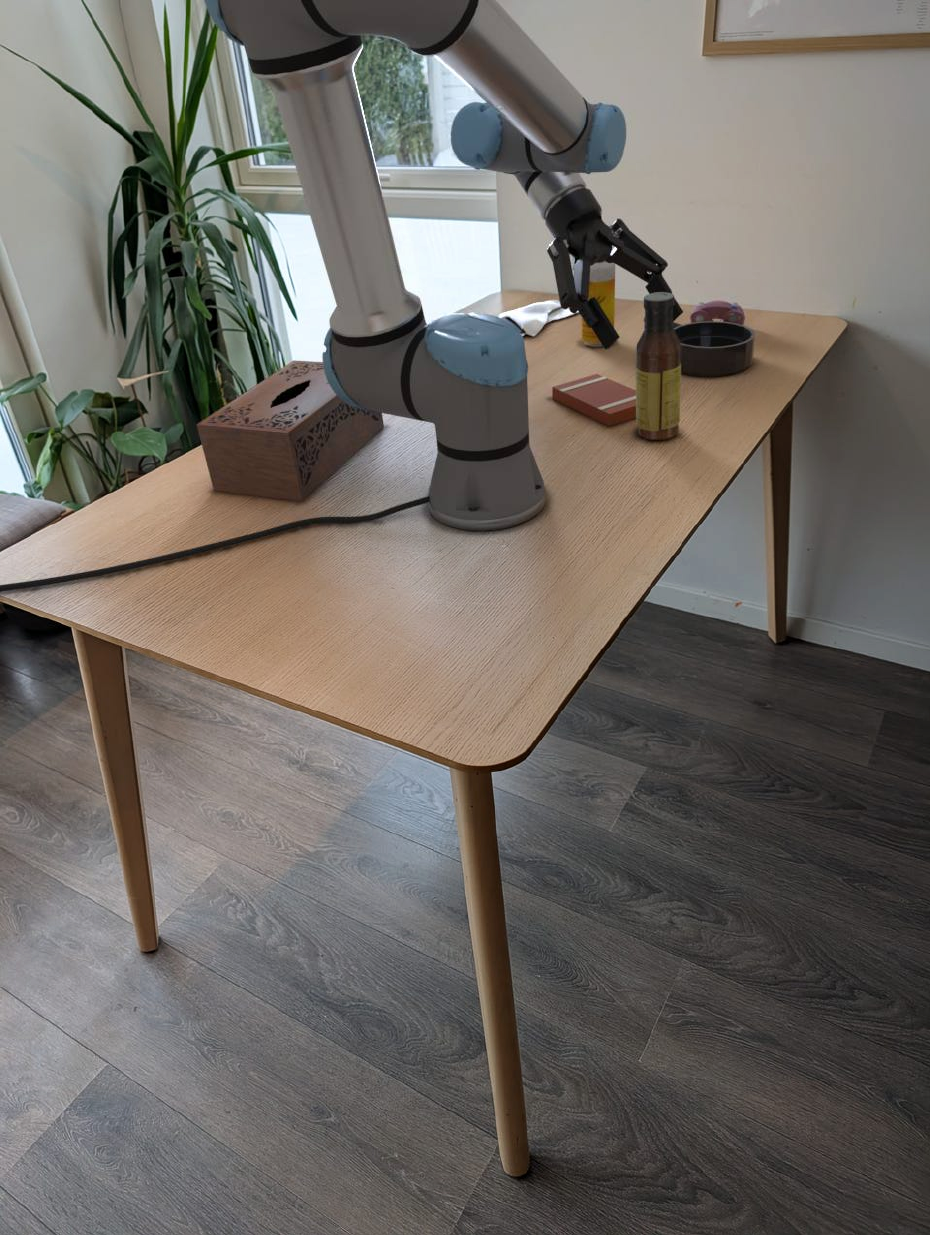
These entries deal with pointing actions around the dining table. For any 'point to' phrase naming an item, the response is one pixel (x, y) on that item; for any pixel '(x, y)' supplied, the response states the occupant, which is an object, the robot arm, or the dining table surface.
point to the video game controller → (718, 312)
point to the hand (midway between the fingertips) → (645, 330)
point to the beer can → (600, 298)
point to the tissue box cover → (284, 435)
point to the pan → (715, 348)
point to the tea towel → (598, 398)
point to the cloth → (535, 316)
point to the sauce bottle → (658, 371)
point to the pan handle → (673, 324)
